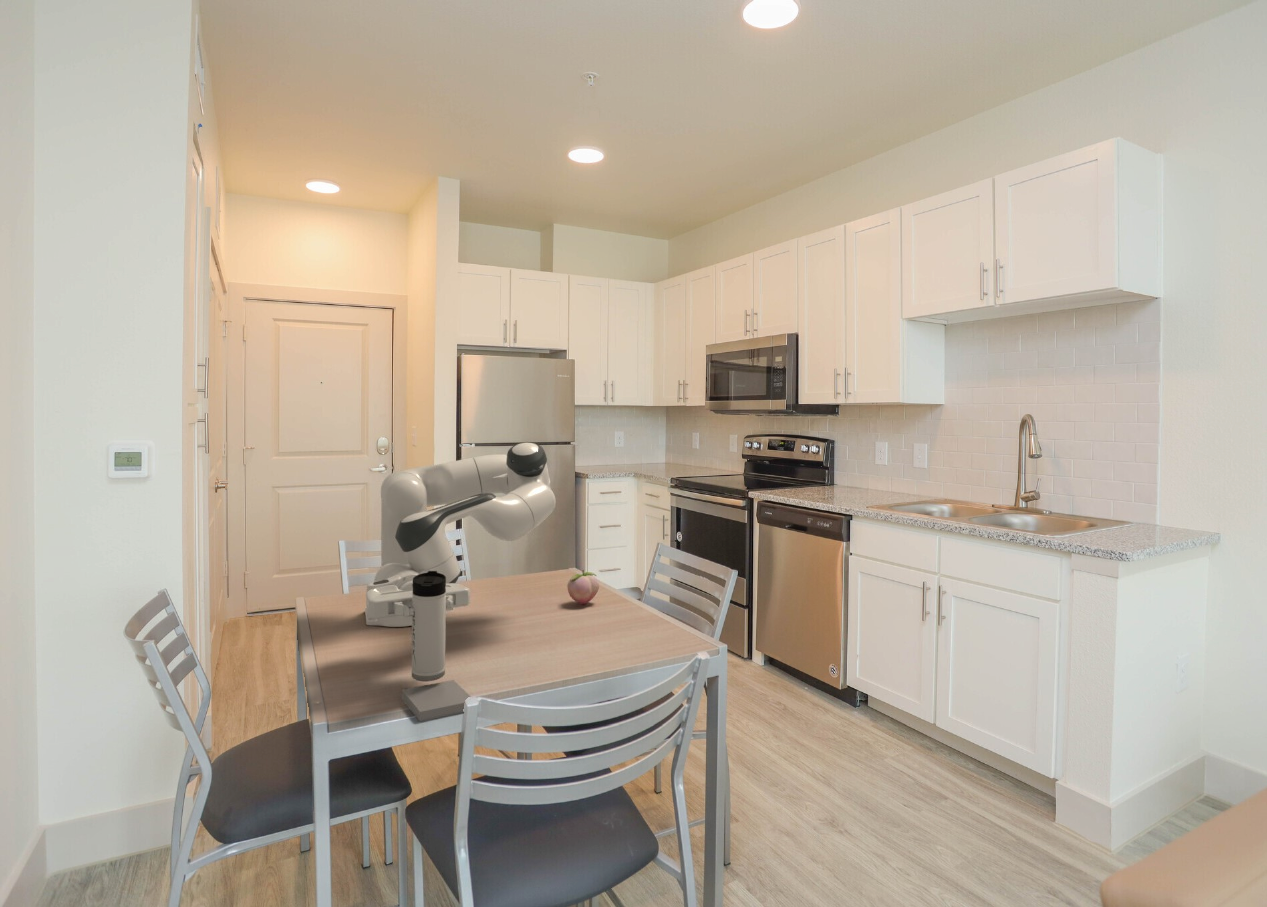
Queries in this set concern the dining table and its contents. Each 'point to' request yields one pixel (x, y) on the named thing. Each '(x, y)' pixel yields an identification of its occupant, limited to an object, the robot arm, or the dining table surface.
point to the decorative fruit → (583, 587)
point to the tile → (435, 700)
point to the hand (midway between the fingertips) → (430, 609)
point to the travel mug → (428, 626)
